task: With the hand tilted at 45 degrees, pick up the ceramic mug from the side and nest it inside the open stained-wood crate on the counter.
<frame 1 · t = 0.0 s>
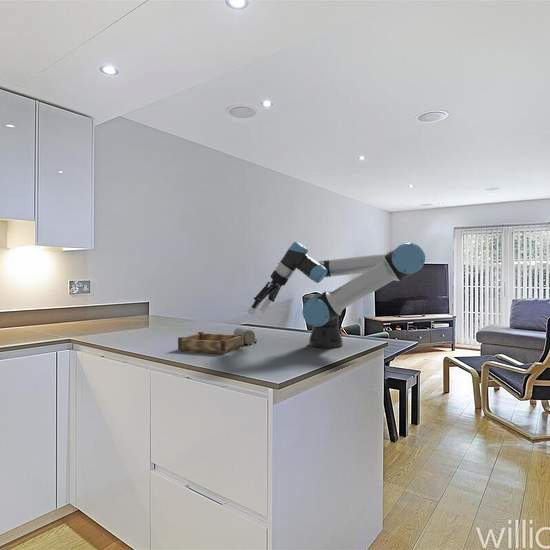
hand: (255, 312, 178), 15 cm above the worktop, tool tilted 35°, fingers open, 13 cm apart
crate: (211, 348, 173), on the worktop
ceramic mug: (246, 344, 185), on the worktop
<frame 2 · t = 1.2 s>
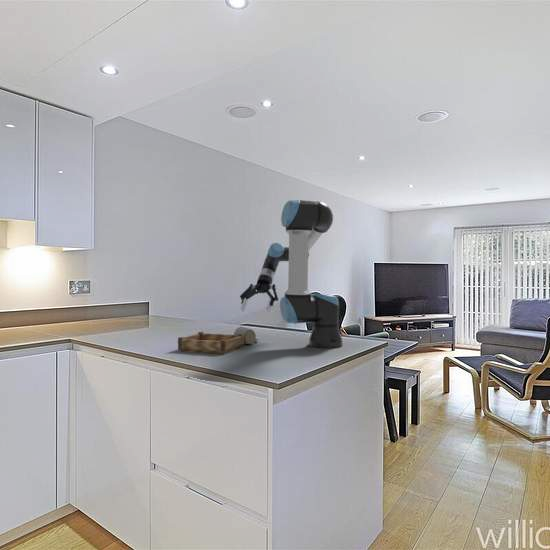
hand: (254, 310, 195), 15 cm above the worktop, tool tilted 45°, fingers open, 13 cm apart
nothing on the worktop moved.
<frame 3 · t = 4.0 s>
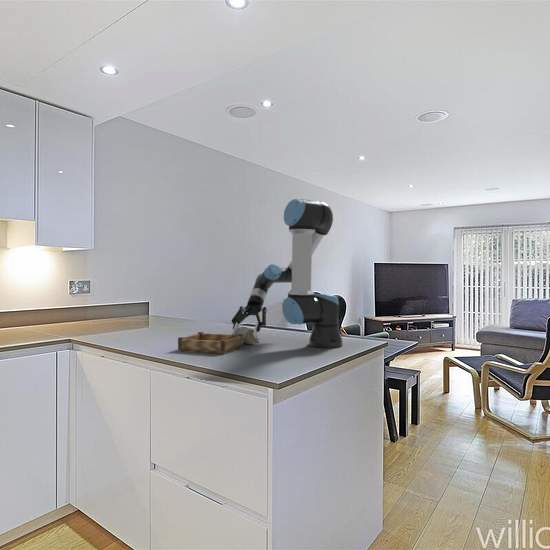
hand: (243, 336, 183), 4 cm above the worktop, tool tilted 45°, fingers closed on ceramic mug, 10 cm apart
ceramic mug: (248, 343, 186), on the worktop, touching gripper
when the fingers open (6 cm above the worktop, at t = 9.4 s): ceramic mug drops 1 cm, resting on crate.
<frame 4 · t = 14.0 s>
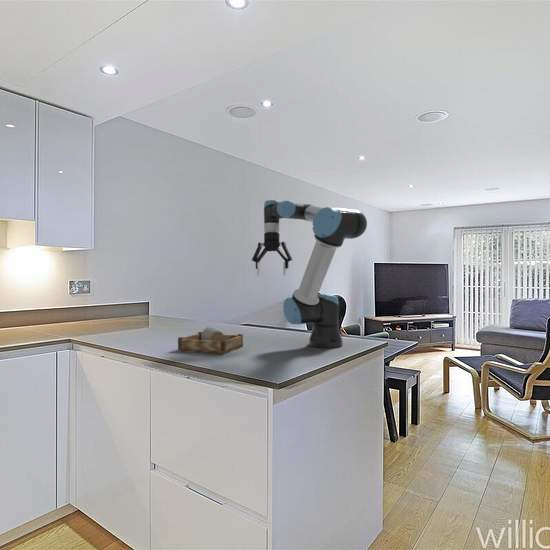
hand: (271, 275, 195), 32 cm above the worktop, tool pointing down, fingers open, 13 cm apart
ceramic mug: (215, 345, 174), point 1 cm above the worktop, touching crate
at the end: ceramic mug inside the target area on the crate (2.1 cm from its centre), point 1.0 cm above the crate's base; ceramic mug tilted 0°; the gripper is holding nothing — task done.
